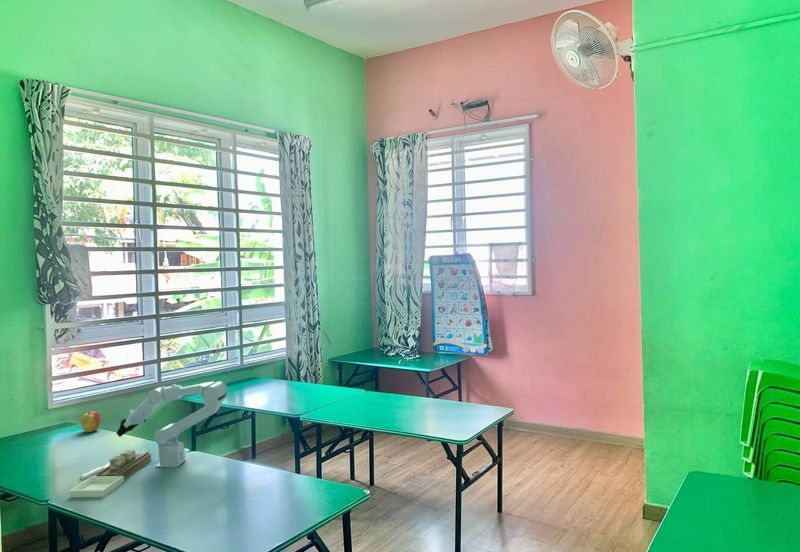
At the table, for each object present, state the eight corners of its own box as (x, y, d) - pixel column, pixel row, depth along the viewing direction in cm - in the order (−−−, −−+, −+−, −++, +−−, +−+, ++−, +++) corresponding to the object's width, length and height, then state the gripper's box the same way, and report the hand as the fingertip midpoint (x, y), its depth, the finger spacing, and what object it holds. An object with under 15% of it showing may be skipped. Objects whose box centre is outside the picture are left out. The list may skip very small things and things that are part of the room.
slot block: (151, 460, 241) (150, 451, 241) (121, 481, 219) (120, 472, 219) (128, 460, 242) (128, 452, 242) (96, 482, 220) (96, 472, 220)
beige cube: (135, 459, 234) (135, 450, 234) (130, 463, 230) (129, 453, 230) (126, 460, 235) (125, 450, 234) (120, 463, 231) (120, 453, 230)
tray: (124, 482, 219) (123, 475, 218) (103, 497, 206) (103, 490, 206) (92, 482, 220) (91, 476, 220) (69, 497, 207) (69, 490, 207)
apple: (101, 431, 286) (100, 412, 286) (81, 435, 282) (79, 415, 281) (101, 427, 294) (99, 408, 294) (81, 430, 290) (79, 411, 289)
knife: (121, 451, 254) (137, 451, 252) (122, 454, 254) (137, 455, 252) (68, 475, 225) (84, 476, 223) (68, 479, 225) (84, 480, 223)
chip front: (125, 465, 228) (124, 455, 228) (119, 469, 224) (119, 459, 224) (116, 465, 229) (115, 455, 229) (110, 469, 225) (109, 459, 225)
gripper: (147, 397, 244) (127, 418, 246) (127, 408, 229) (106, 431, 231) (158, 409, 244) (138, 430, 246) (139, 421, 229) (118, 443, 231)
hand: (123, 431), depth 239 cm, fingers open, 7 cm apart
